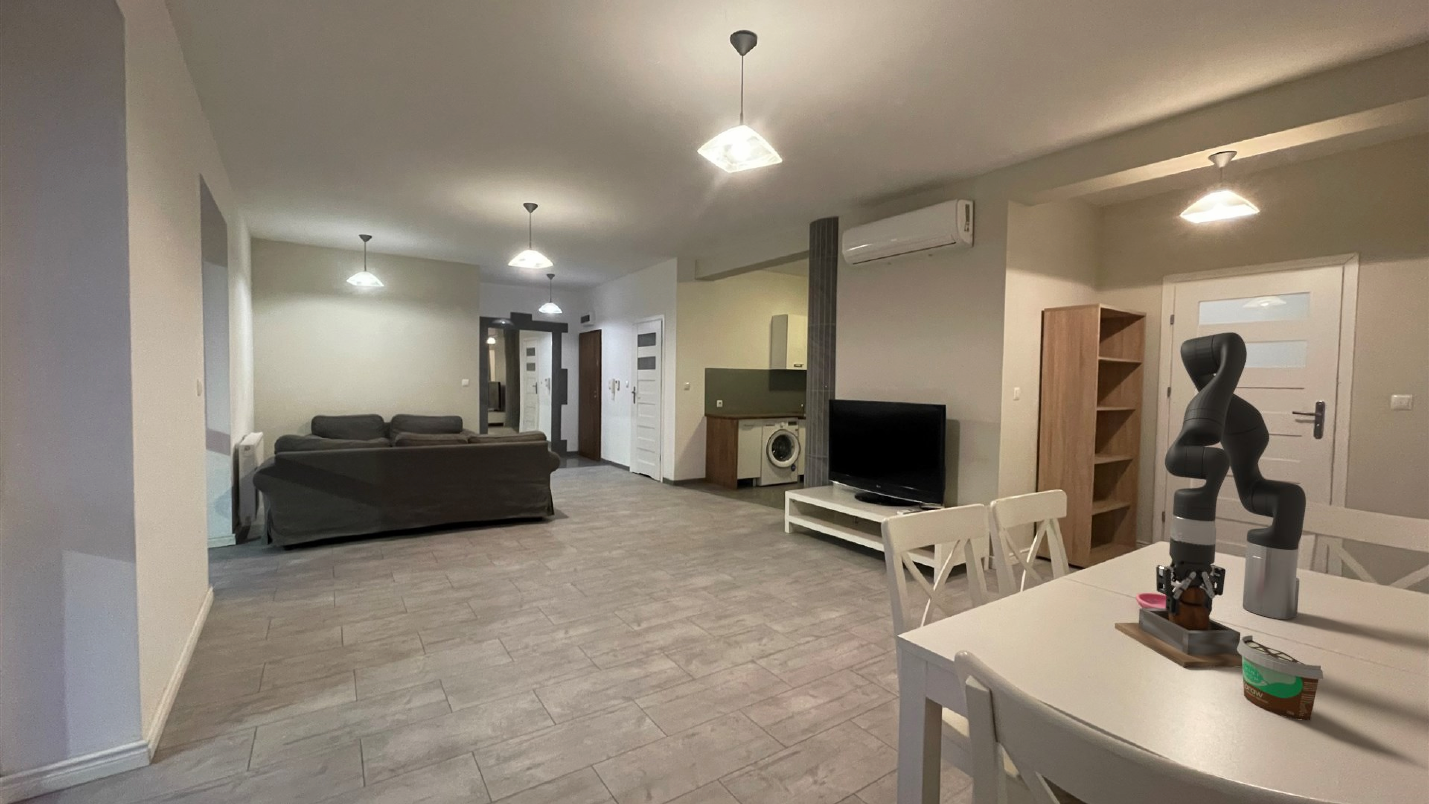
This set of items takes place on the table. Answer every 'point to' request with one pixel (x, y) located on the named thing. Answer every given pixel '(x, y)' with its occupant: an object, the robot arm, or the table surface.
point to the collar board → (1185, 640)
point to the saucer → (1151, 600)
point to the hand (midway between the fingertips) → (1188, 613)
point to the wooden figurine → (1192, 610)
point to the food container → (1278, 680)
